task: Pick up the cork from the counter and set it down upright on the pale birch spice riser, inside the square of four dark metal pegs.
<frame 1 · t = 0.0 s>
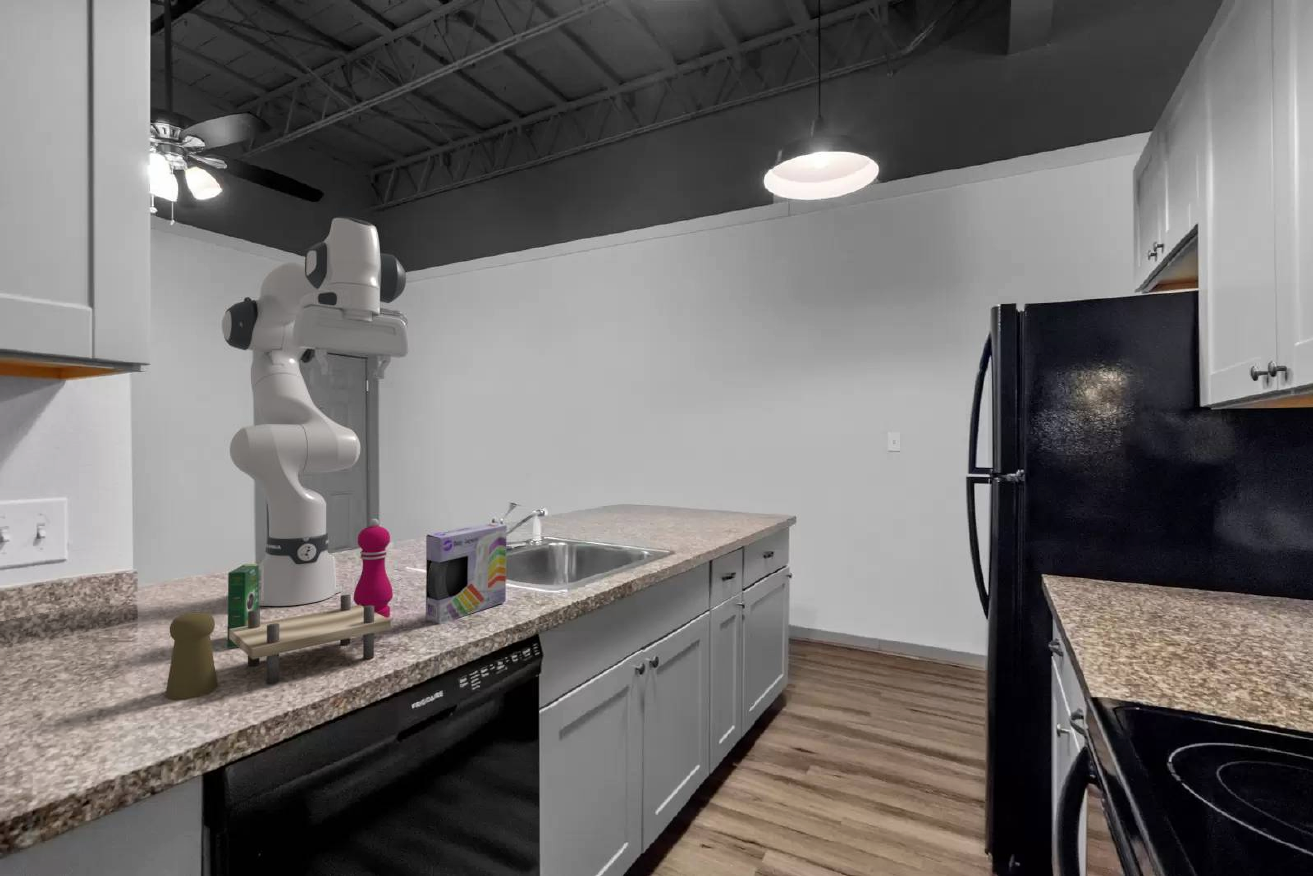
hand: (353, 376, 118), 48 cm above the worktop, fingers open, 8 cm apart
cork: (192, 692, 89), on the worktop
spice riser: (312, 661, 101), on the worktop
coffee box: (243, 641, 111), on the worktop
pepper mill: (373, 618, 125), on the worktop
cake pan box: (466, 613, 129), on the worktop
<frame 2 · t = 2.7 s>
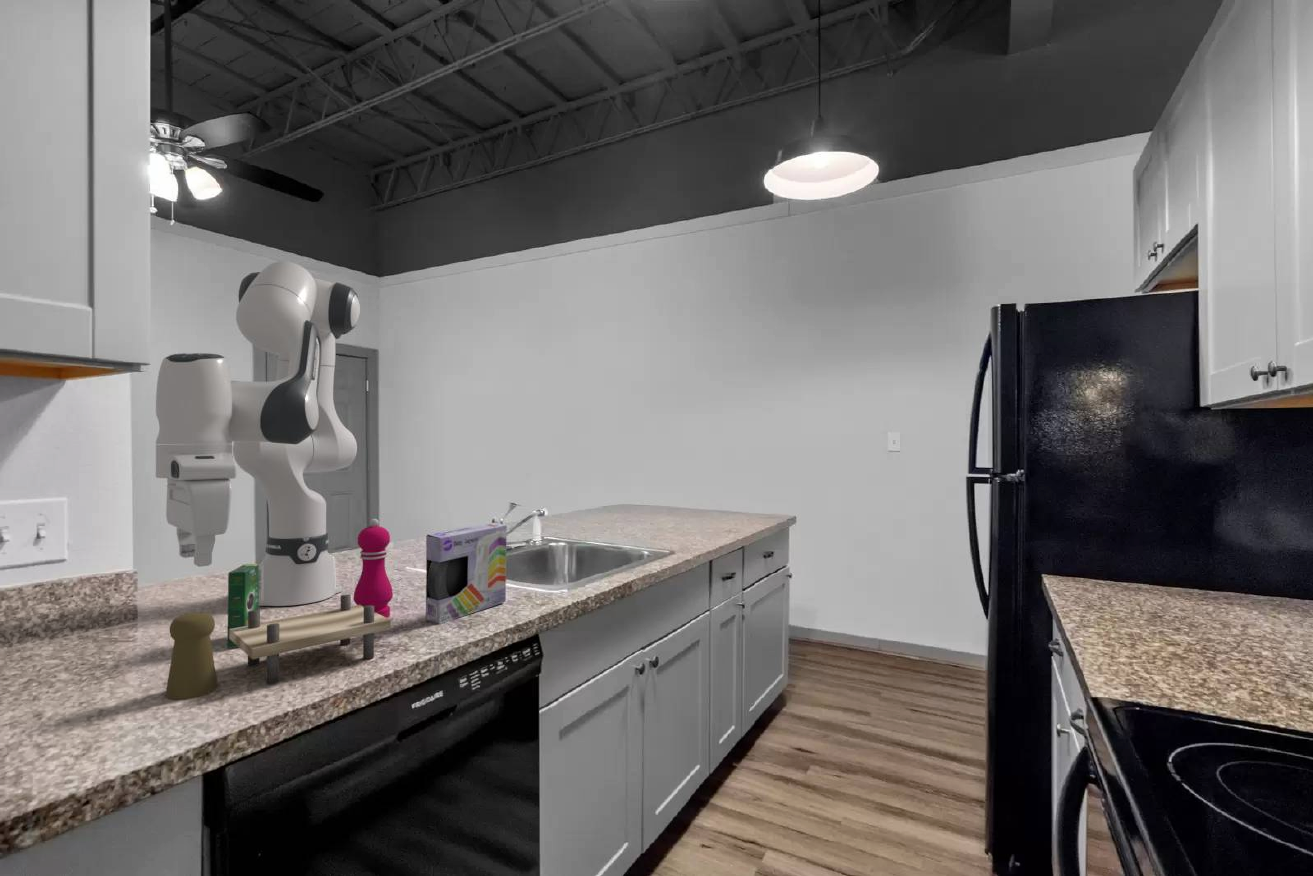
hand: (195, 561, 89), 19 cm above the worktop, fingers open, 8 cm apart
nothing on the worktop moved.
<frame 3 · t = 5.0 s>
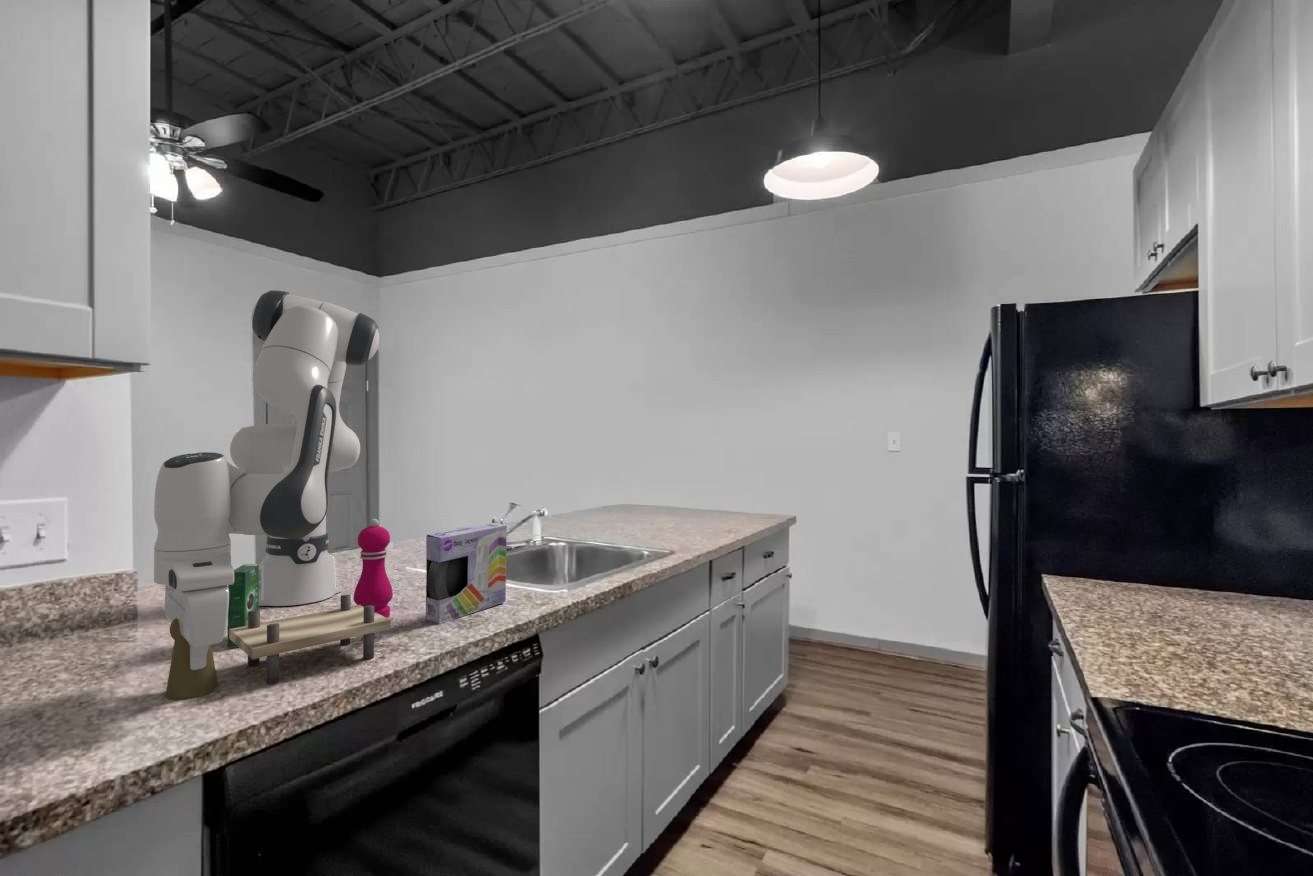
hand: (192, 662, 89), 4 cm above the worktop, fingers closed on cork, 5 cm apart
cork: (192, 692, 89), on the worktop, touching gripper
everything else where it was.
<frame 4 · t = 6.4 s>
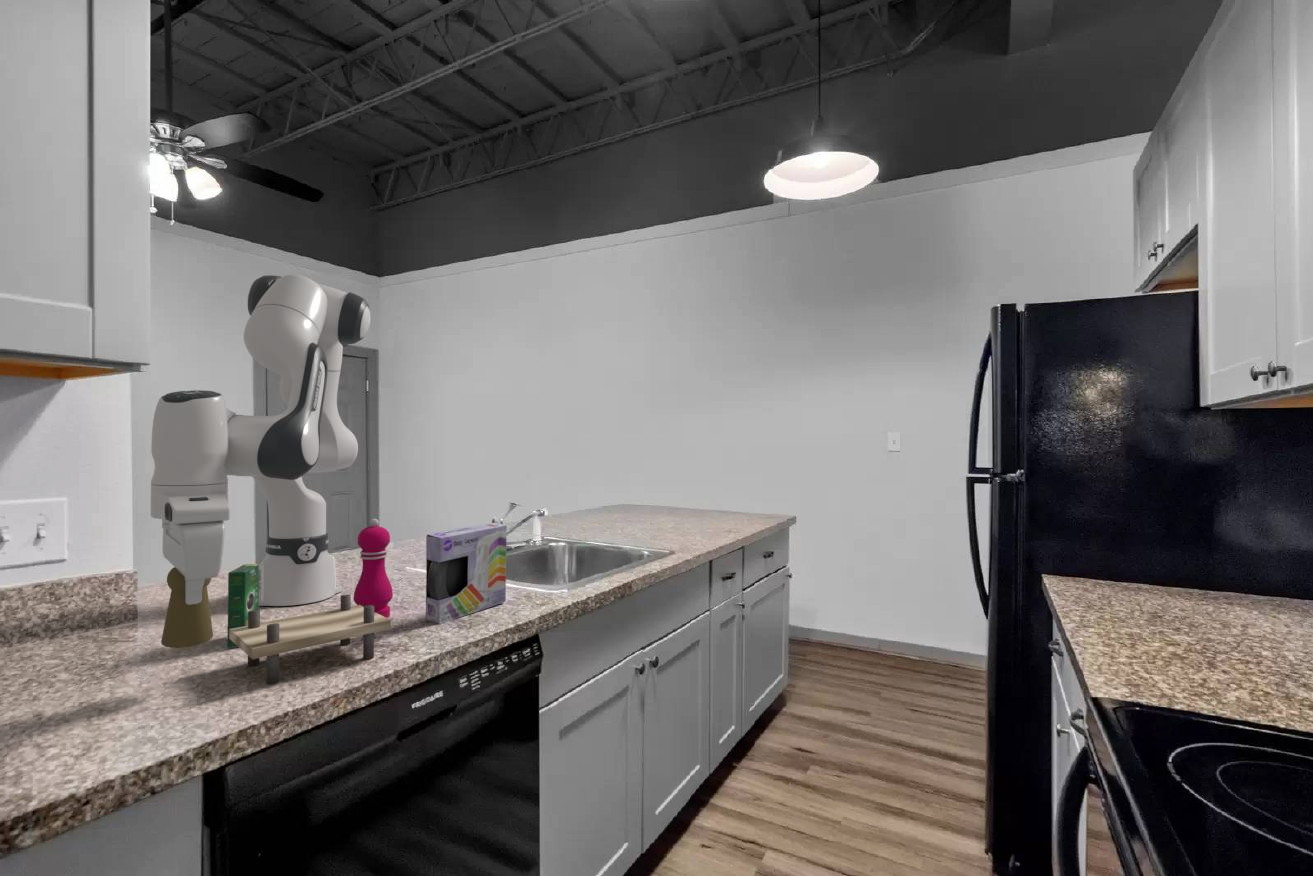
hand: (188, 599, 89), 13 cm above the worktop, fingers closed on cork, 4 cm apart
cork: (187, 640, 90), point 7 cm above the worktop, touching gripper
everything else where it was.
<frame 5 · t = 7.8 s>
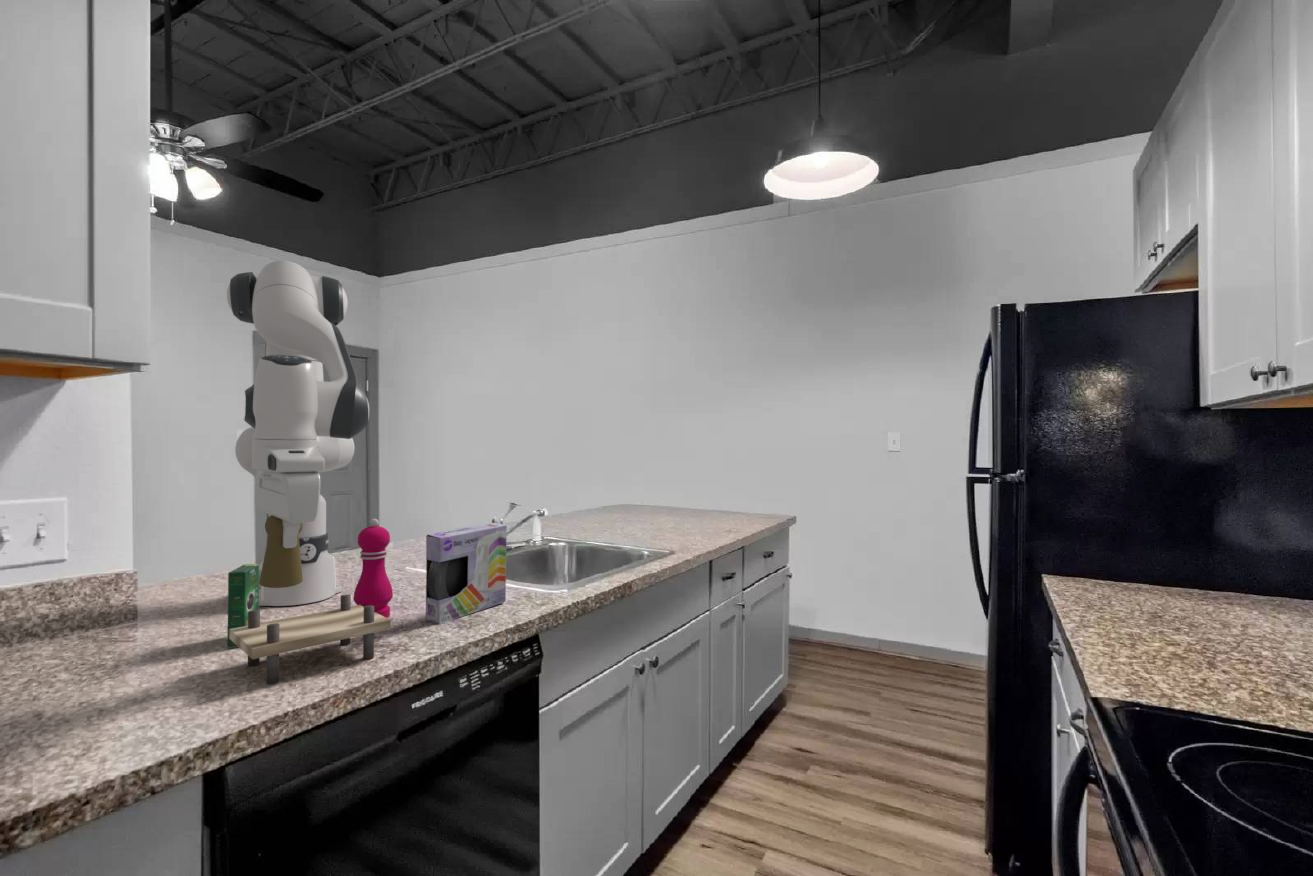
hand: (283, 544, 98), 19 cm above the worktop, fingers closed on cork, 4 cm apart
cork: (281, 582, 99), point 13 cm above the worktop, touching gripper
everything else where it was.
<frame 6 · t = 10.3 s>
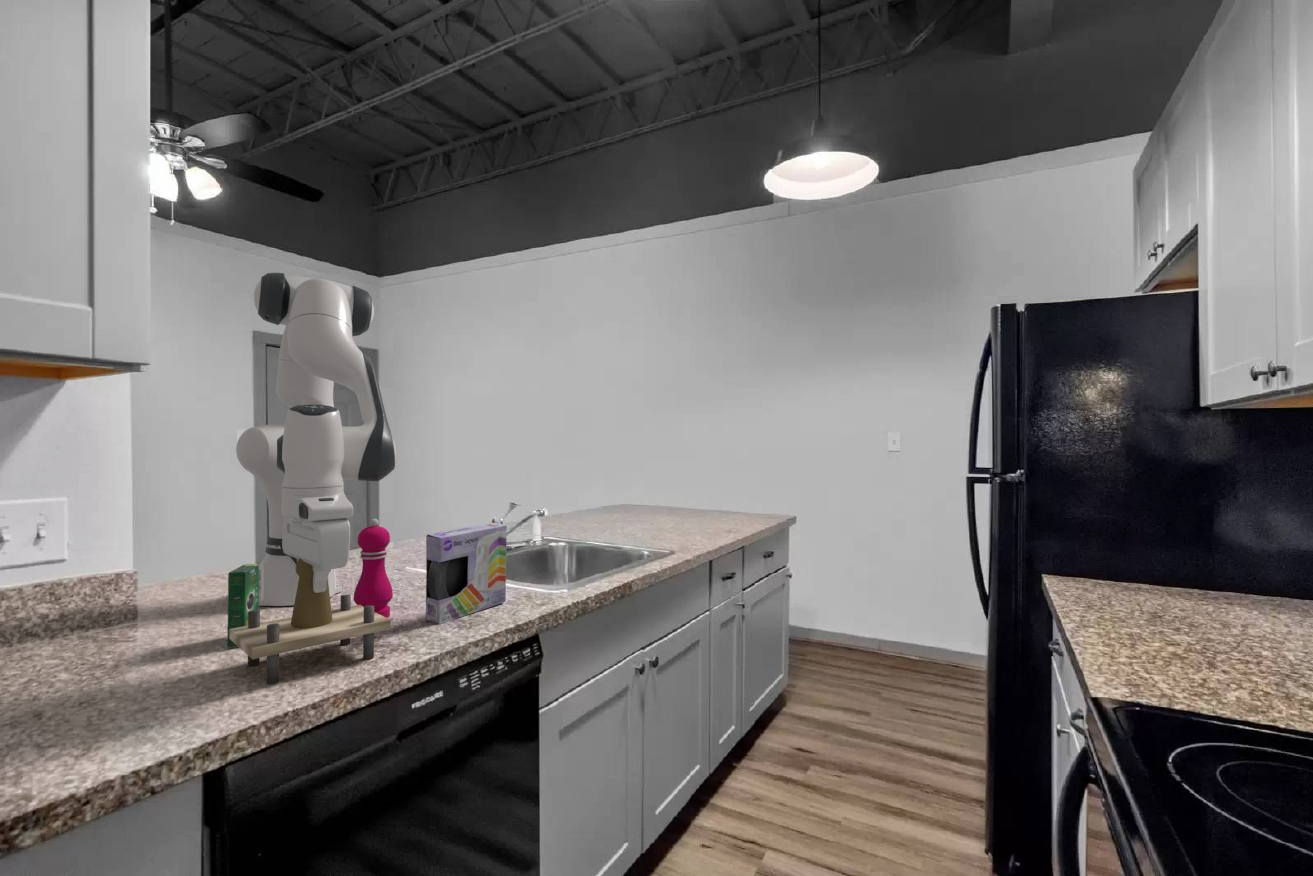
hand: (313, 588, 101), 12 cm above the worktop, fingers closed on cork, 4 cm apart
cork: (311, 622, 102), point 6 cm above the worktop, touching gripper, spice riser
everything else where it was.
when the fingers open (12 cm above the worktop, at t = 10.4 s): cork stays where it is, resting on spice riser.
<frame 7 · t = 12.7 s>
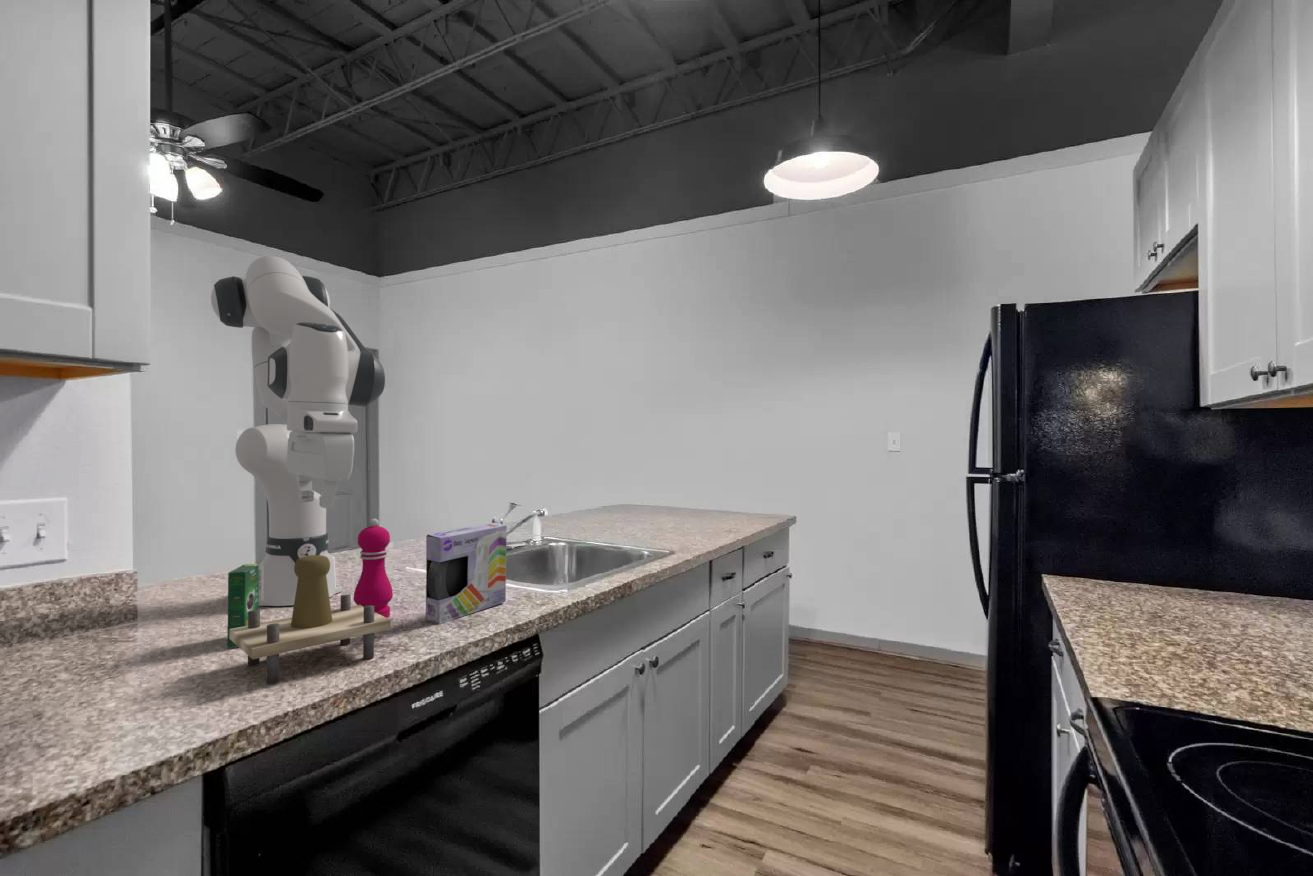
hand: (316, 504, 102), 25 cm above the worktop, fingers open, 8 cm apart
cork: (311, 624, 102), point 6 cm above the worktop, touching spice riser
everything else where it was.
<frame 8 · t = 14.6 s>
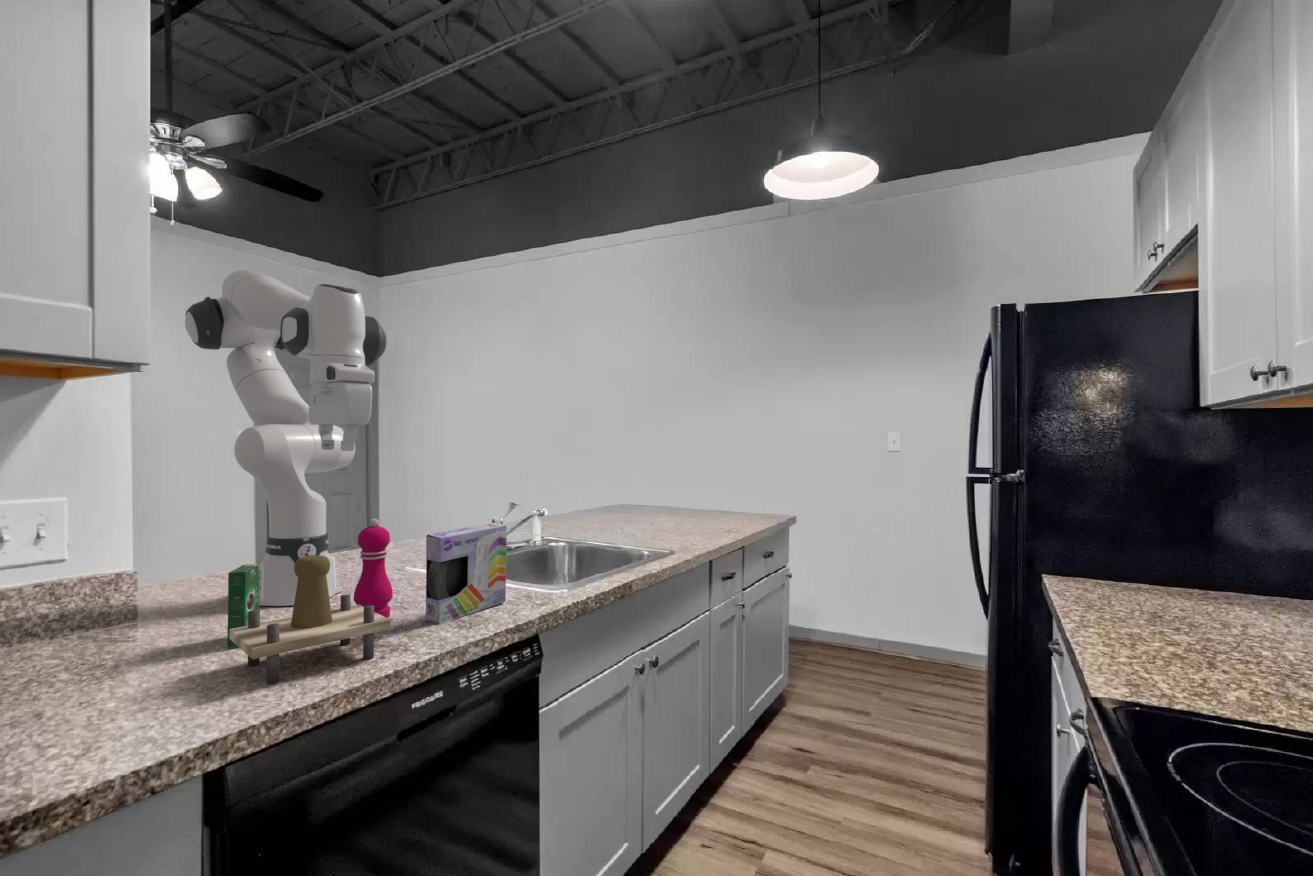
hand: (337, 450, 112), 34 cm above the worktop, fingers open, 8 cm apart
nothing on the worktop moved.
at the end: cork inside the target area on the spice riser (1.0 cm from its centre), point 5.8 cm above the spice riser's base; cork tilted 0°; the gripper is holding nothing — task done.
